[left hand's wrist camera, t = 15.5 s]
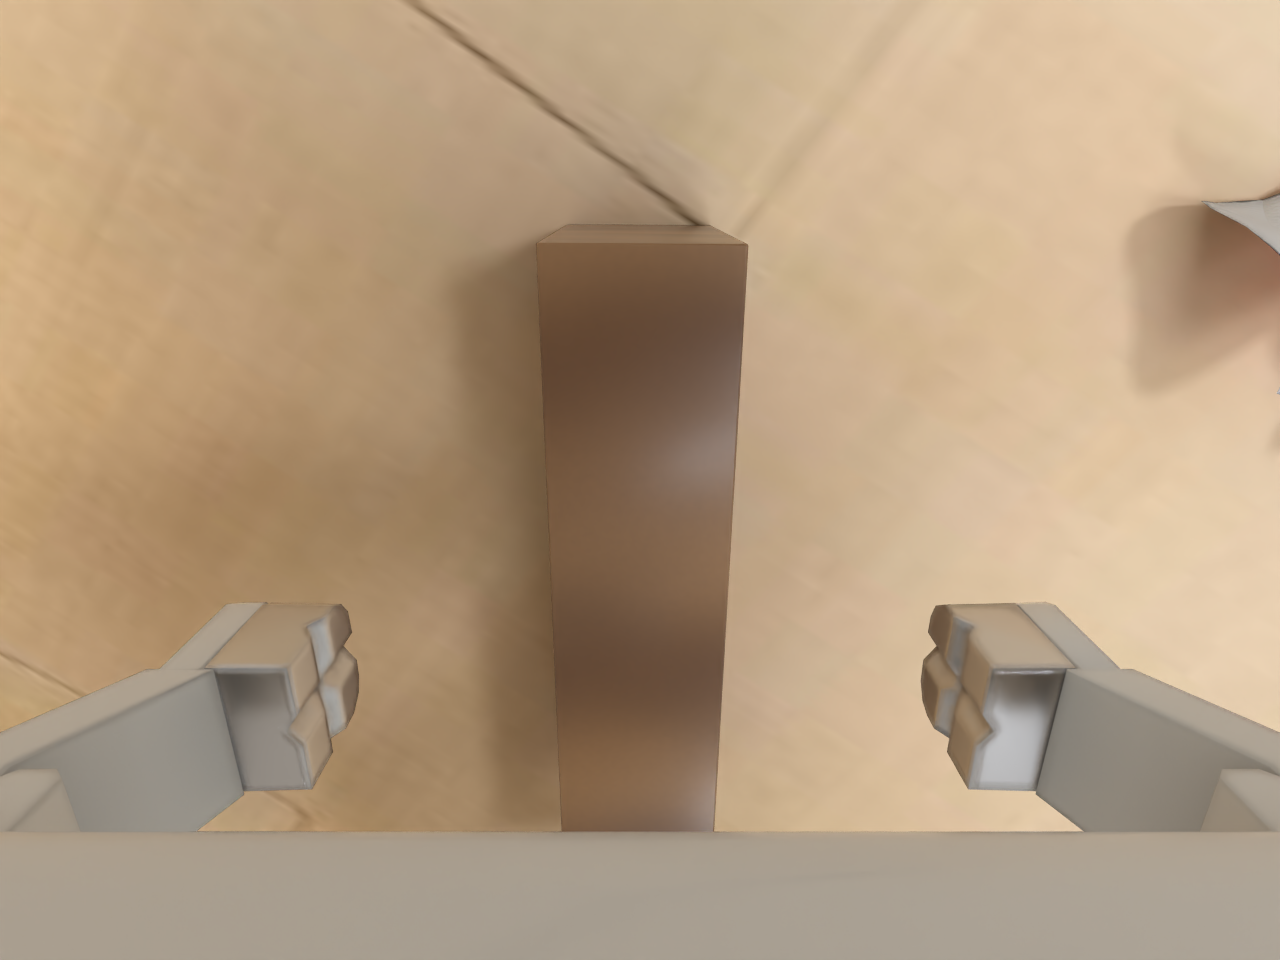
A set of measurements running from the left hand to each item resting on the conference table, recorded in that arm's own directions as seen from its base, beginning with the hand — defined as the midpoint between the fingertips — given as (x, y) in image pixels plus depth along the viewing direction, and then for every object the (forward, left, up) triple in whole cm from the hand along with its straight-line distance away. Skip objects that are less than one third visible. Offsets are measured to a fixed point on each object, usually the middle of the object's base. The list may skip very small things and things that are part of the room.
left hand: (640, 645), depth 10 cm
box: (-9, -2, -22) cm, 24 cm away
